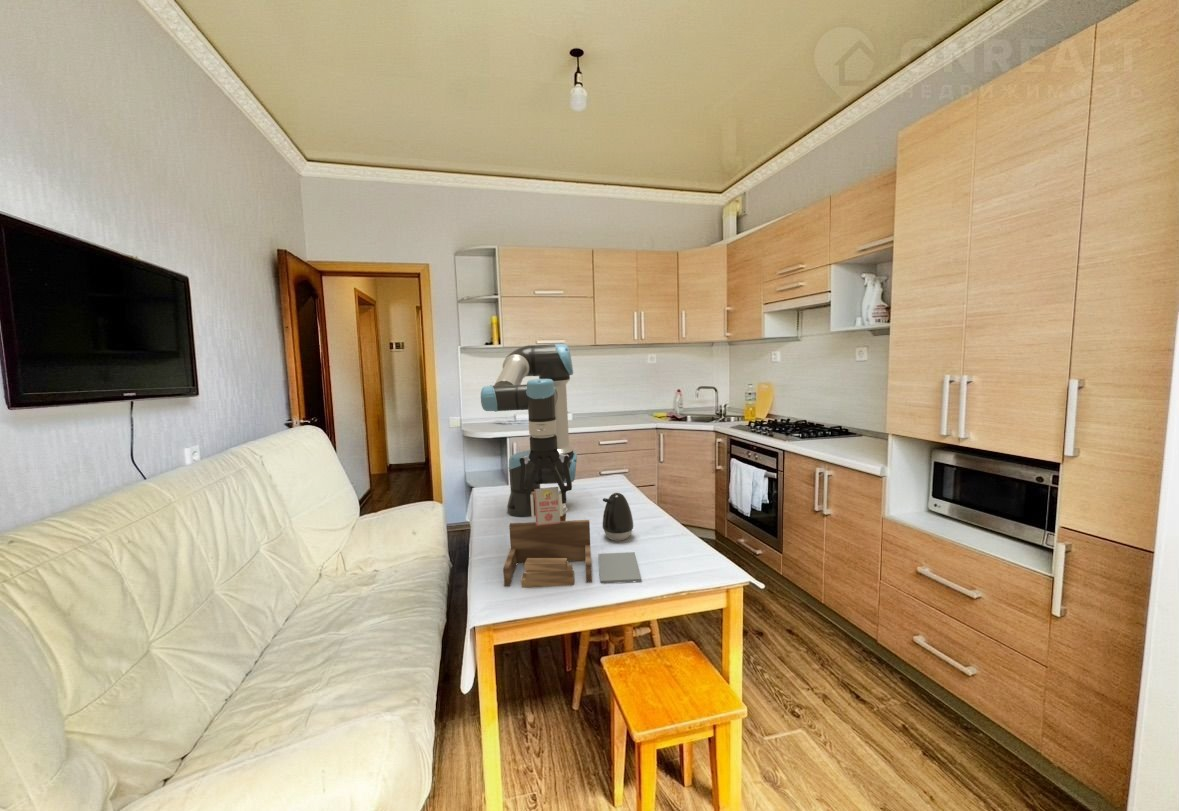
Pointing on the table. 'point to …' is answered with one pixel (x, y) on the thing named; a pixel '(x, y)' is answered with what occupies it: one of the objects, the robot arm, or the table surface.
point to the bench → (548, 544)
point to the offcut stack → (547, 572)
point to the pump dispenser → (617, 517)
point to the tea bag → (547, 506)
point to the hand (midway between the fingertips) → (547, 514)
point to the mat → (618, 567)
